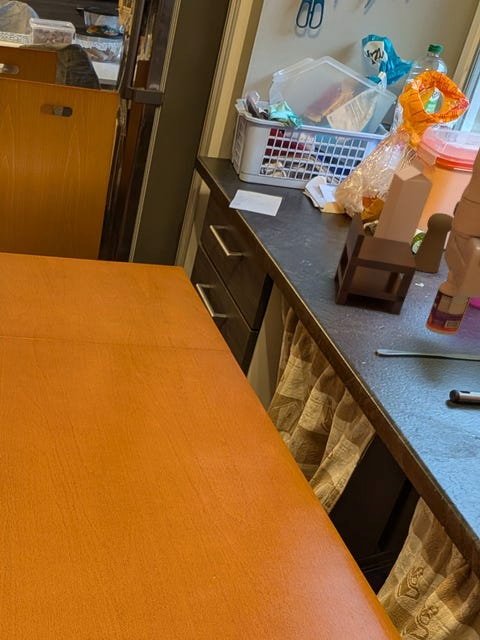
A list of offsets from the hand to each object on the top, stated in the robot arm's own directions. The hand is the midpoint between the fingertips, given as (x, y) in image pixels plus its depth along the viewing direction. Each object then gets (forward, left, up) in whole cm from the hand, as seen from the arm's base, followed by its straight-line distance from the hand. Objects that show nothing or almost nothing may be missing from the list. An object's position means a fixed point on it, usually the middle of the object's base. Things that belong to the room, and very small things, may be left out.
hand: (450, 305), depth 157 cm
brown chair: (+10, -28, -9) cm, 31 cm away
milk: (+6, -44, -10) cm, 45 cm away
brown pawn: (-4, -54, -10) cm, 55 cm away
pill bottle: (0, 0, -4) cm, 4 cm away
